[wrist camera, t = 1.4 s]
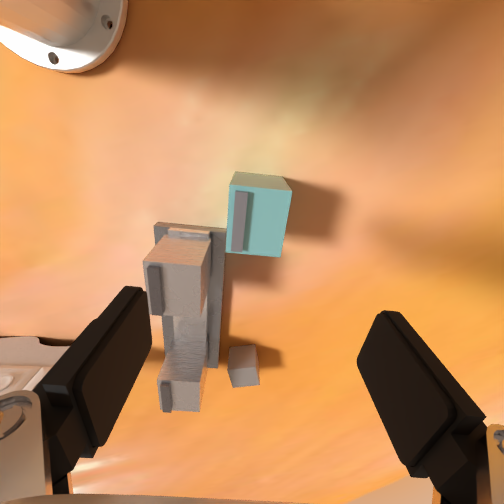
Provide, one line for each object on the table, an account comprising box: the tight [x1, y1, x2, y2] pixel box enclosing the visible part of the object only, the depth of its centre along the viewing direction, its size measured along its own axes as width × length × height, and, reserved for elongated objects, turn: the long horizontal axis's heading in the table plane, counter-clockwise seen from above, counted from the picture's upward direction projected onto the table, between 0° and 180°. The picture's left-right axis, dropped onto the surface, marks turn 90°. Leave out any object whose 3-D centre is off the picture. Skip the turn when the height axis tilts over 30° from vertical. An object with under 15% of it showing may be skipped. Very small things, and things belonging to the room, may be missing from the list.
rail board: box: [143, 222, 227, 413], centre depth 29 cm, size 23×8×8 cm, turn 174°
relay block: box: [227, 344, 260, 388], centre depth 35 cm, size 4×4×4 cm
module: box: [225, 172, 292, 257], centre depth 23 cm, size 6×5×8 cm
